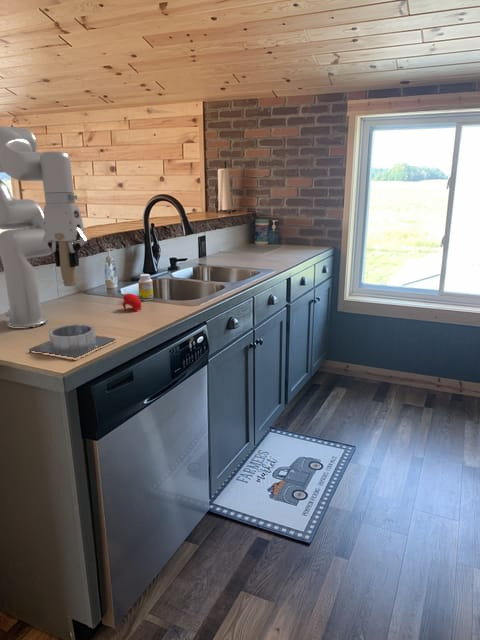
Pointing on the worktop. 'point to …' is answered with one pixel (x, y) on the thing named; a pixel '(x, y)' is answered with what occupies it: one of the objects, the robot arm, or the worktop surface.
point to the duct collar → (72, 341)
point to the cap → (132, 301)
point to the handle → (66, 262)
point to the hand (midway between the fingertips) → (67, 265)
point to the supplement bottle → (145, 287)
